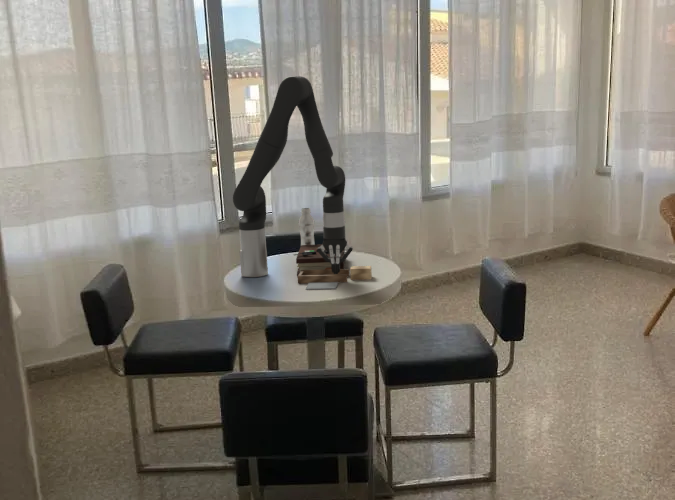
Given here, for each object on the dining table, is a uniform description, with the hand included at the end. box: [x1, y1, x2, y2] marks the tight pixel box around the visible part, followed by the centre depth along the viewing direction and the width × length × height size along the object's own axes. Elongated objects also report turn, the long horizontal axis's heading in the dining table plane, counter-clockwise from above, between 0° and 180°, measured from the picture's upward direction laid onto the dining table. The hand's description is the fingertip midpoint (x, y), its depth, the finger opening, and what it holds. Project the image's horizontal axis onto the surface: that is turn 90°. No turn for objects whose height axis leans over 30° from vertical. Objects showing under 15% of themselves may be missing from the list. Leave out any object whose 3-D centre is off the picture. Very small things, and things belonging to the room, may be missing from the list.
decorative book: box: [293, 243, 347, 277], centre depth 267 cm, size 19×8×30 cm
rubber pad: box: [305, 282, 339, 291], centre depth 239 cm, size 10×8×1 cm
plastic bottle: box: [298, 207, 316, 246], centre depth 282 cm, size 6×7×20 cm
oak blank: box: [349, 265, 373, 281], centre depth 247 cm, size 7×4×4 cm, turn 84°
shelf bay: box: [297, 268, 350, 284], centre depth 248 cm, size 17×9×2 cm, turn 84°
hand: (336, 273), depth 248 cm, fingers closed
